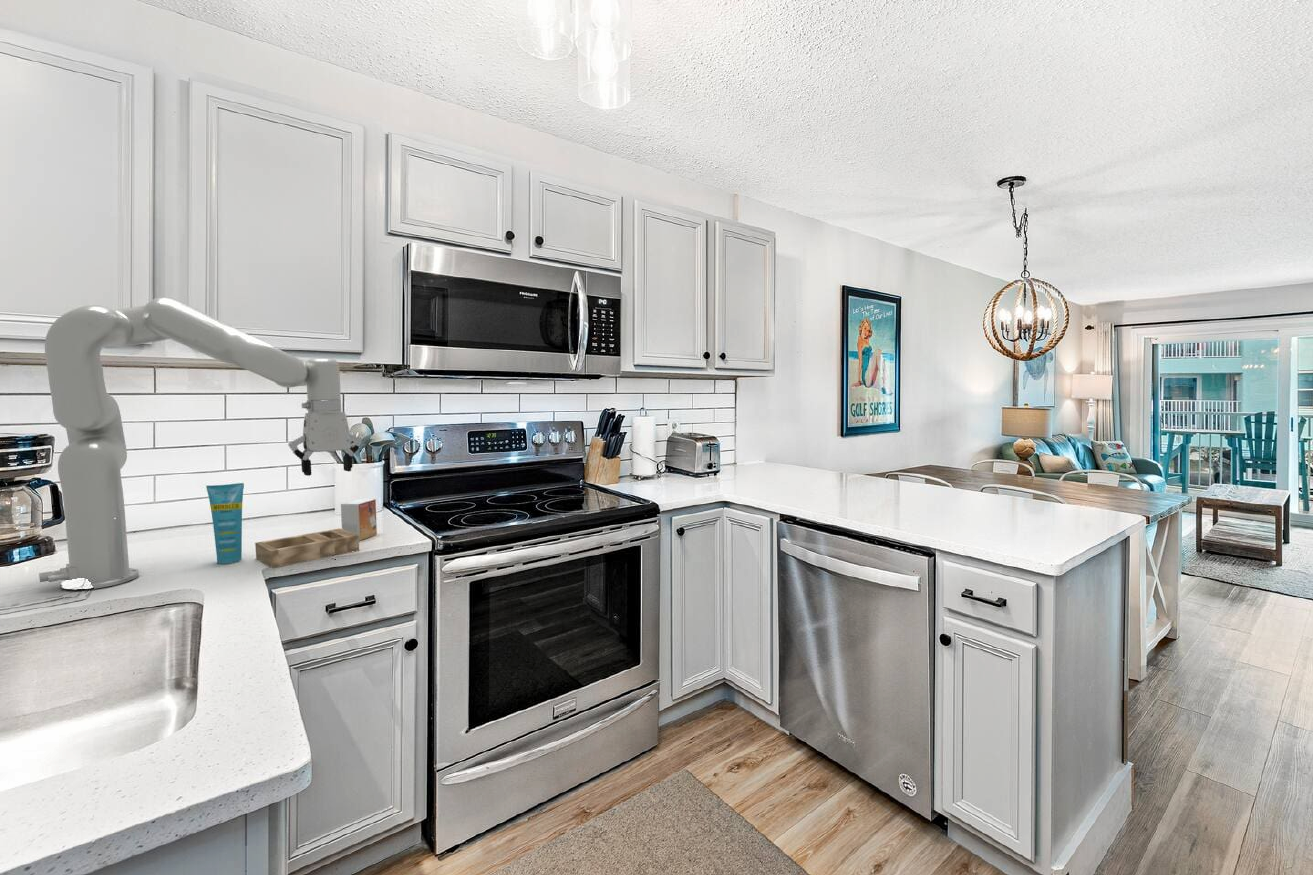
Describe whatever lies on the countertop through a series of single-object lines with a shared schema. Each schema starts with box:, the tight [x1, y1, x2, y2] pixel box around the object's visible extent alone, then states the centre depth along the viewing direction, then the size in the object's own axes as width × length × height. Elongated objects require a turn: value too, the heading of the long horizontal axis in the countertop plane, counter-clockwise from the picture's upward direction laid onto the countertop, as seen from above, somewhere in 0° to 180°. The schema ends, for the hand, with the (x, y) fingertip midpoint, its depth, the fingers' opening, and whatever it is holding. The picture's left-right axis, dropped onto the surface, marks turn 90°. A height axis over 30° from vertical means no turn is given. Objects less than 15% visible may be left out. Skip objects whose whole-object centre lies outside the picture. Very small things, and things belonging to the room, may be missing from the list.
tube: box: [206, 482, 245, 565], centre depth 146 cm, size 7×5×19 cm, turn 123°
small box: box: [340, 498, 378, 542], centre depth 169 cm, size 8×6×10 cm
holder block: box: [254, 528, 360, 569], centre depth 152 cm, size 20×12×4 cm, turn 139°
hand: (328, 472), depth 155 cm, fingers open, 9 cm apart
